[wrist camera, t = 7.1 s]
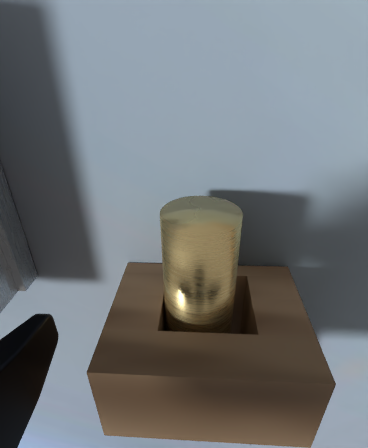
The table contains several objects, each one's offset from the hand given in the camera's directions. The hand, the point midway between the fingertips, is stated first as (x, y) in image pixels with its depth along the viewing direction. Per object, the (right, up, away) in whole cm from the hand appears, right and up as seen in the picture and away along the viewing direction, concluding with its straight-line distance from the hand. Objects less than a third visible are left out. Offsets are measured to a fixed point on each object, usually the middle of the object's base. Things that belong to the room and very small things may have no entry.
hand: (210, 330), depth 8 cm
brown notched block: (0, -3, +8) cm, 9 cm away
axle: (0, 0, +6) cm, 6 cm away
